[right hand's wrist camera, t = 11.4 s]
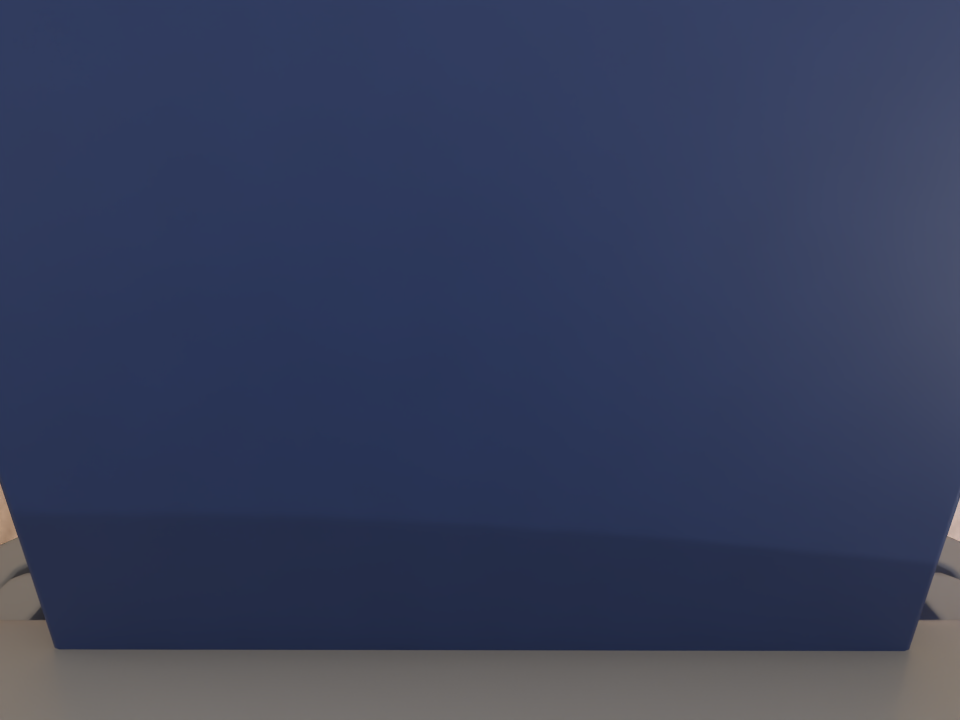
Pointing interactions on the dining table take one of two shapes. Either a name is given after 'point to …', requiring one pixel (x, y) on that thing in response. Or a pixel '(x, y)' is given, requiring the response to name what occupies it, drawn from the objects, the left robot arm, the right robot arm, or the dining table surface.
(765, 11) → the box
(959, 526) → the dining table surface
